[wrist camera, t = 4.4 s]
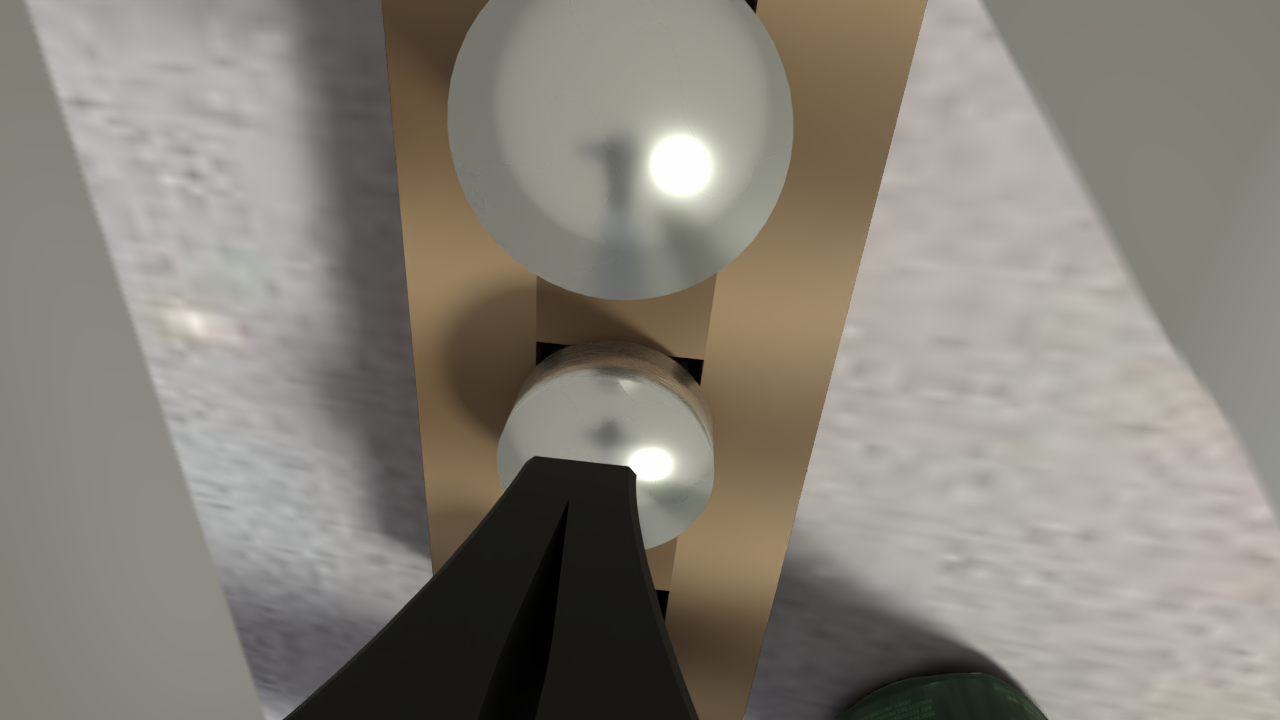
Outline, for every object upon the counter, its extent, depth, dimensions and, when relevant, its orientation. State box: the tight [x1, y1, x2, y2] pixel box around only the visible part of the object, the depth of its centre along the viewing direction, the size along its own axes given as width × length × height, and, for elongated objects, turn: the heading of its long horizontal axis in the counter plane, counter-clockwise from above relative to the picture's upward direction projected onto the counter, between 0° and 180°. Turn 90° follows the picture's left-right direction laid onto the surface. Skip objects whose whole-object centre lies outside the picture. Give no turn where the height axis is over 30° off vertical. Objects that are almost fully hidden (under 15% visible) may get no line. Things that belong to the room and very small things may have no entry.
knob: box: [447, 0, 793, 300], centre depth 11 cm, size 4×4×6 cm
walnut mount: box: [382, 0, 928, 720], centre depth 18 cm, size 21×9×4 cm, turn 175°
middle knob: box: [497, 340, 714, 549], centre depth 17 cm, size 4×4×6 cm
